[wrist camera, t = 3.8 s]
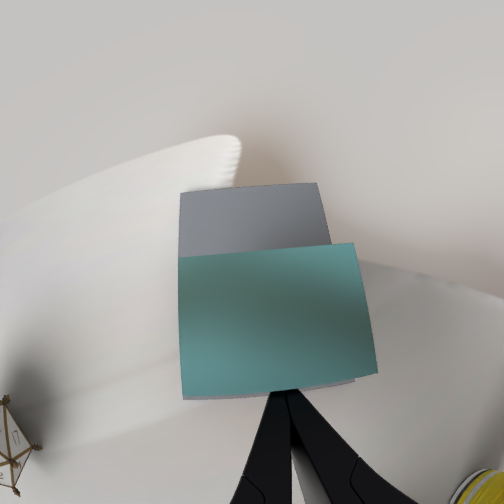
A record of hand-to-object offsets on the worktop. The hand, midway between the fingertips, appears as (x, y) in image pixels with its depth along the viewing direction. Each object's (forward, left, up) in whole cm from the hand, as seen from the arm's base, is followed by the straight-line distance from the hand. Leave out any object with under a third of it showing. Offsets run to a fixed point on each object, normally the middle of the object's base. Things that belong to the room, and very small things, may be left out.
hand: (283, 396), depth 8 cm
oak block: (+2, -2, -7) cm, 8 cm away
